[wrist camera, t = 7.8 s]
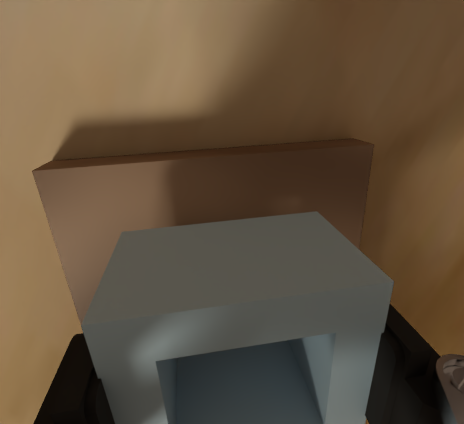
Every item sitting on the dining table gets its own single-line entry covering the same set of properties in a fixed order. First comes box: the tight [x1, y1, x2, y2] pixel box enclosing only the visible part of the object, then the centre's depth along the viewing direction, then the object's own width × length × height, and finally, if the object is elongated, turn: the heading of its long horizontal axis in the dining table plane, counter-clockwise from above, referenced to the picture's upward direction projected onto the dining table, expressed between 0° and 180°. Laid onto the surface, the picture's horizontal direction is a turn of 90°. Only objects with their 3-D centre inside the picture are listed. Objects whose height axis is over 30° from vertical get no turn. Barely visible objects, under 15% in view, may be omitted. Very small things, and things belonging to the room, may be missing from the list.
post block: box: [32, 139, 374, 325], centre depth 11 cm, size 14×12×8 cm
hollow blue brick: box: [81, 211, 394, 424], centre depth 10 cm, size 12×6×4 cm, turn 3°
